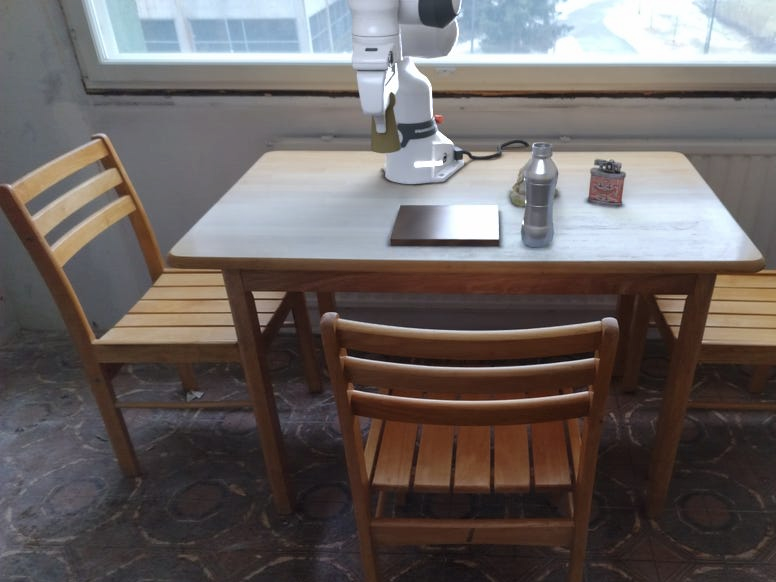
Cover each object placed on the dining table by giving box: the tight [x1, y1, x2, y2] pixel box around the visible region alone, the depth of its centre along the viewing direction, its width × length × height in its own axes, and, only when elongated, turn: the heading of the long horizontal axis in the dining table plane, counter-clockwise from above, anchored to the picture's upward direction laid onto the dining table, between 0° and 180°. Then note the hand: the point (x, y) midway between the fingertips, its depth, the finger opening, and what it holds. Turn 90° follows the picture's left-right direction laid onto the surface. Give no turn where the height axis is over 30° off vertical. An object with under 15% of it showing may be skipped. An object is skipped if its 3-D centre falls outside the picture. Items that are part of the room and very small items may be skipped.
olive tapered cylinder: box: [370, 91, 401, 154], centre depth 127 cm, size 6×6×11 cm
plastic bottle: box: [520, 141, 559, 248], centre depth 127 cm, size 6×7×20 cm
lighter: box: [587, 158, 627, 208], centre depth 148 cm, size 8×3×10 cm, turn 65°
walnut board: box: [389, 204, 500, 248], centre depth 139 cm, size 22×18×2 cm
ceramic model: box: [510, 155, 559, 207], centre depth 151 cm, size 14×11×10 cm
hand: (384, 127), depth 127 cm, fingers closed on olive tapered cylinder, 4 cm apart
